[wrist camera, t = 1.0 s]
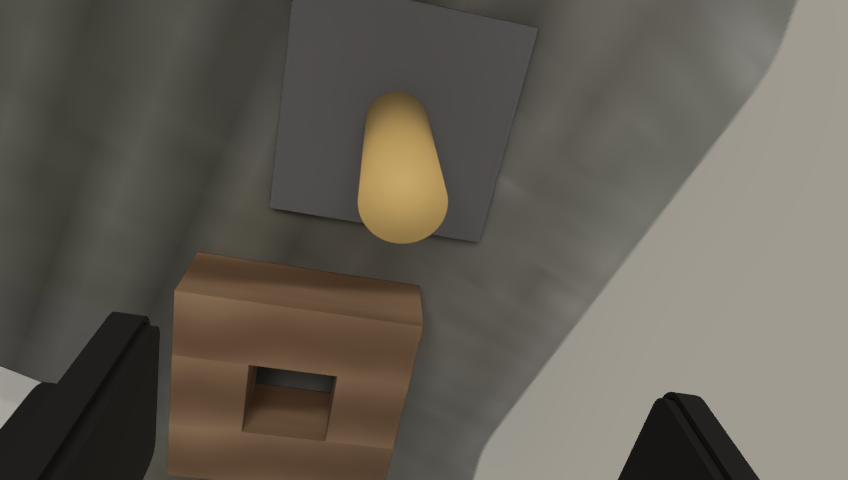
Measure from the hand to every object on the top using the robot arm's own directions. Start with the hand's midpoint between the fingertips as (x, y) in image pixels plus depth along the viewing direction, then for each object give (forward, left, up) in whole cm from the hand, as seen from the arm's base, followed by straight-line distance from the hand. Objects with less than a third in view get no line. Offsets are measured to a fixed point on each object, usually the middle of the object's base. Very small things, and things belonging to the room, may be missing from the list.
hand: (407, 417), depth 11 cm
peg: (0, 0, -20) cm, 20 cm away
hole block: (+15, -3, -21) cm, 25 cm away
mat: (0, 0, -21) cm, 21 cm away
